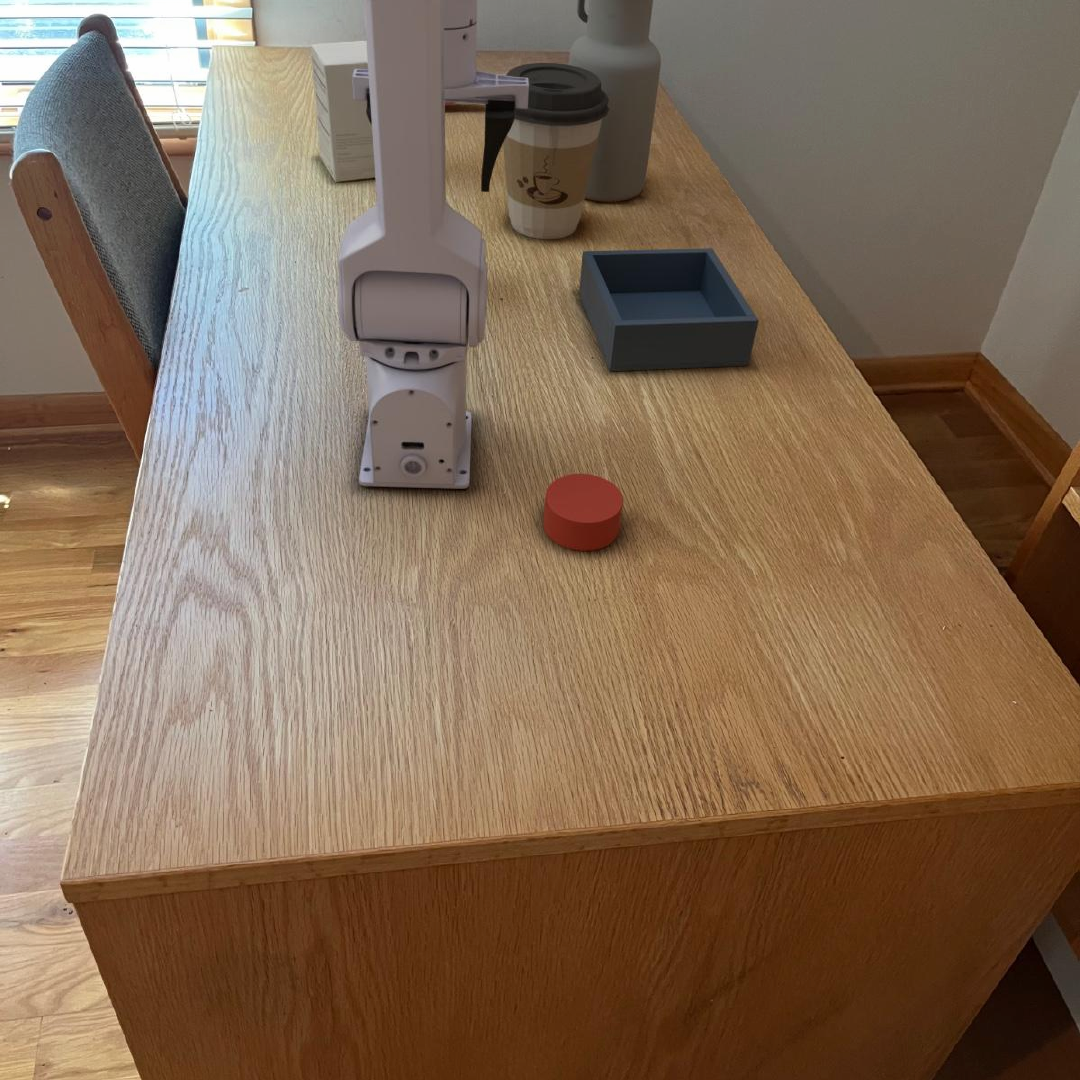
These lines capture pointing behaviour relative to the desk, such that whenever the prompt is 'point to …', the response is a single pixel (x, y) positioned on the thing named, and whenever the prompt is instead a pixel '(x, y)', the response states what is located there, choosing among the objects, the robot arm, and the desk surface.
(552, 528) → the red cylinder
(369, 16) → the robot arm
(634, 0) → the water bottle
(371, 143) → the white packaging box
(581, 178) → the coffee cup
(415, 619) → the desk surface
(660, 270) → the bin
